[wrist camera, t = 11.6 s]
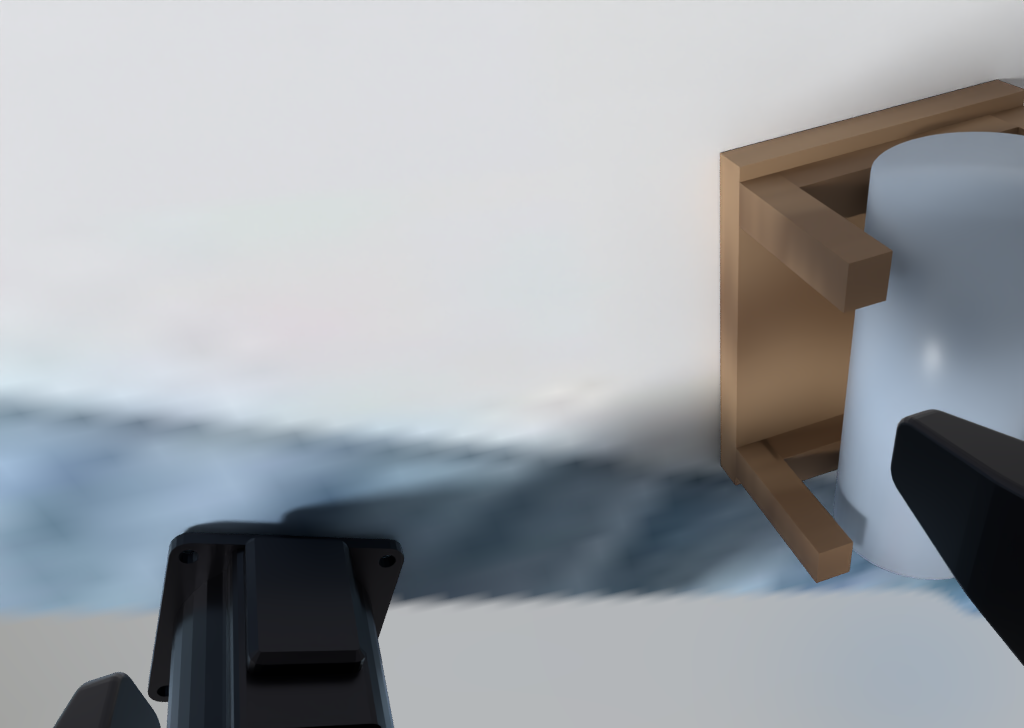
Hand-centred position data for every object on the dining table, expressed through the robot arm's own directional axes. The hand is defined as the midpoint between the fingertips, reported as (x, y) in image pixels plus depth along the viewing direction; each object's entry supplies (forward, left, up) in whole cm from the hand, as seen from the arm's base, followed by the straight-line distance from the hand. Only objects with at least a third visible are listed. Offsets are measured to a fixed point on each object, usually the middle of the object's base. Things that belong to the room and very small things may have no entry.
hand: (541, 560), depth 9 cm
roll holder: (-1, -14, -12) cm, 19 cm away
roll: (-1, -14, -10) cm, 17 cm away
